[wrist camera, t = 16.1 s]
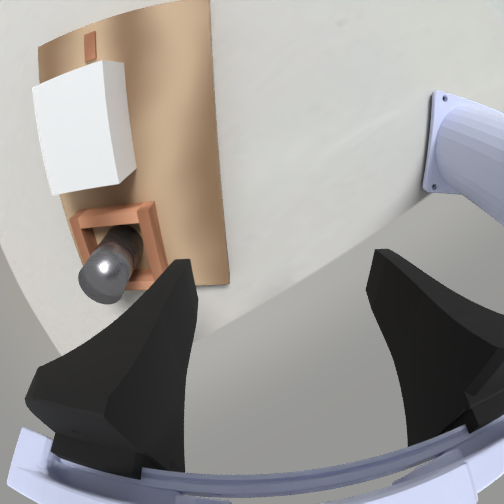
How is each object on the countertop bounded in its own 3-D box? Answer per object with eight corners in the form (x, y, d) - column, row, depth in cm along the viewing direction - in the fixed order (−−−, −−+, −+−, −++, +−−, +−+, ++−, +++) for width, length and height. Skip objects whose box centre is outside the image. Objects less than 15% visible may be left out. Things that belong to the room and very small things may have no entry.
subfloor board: (210, 1, 12) (205, -11, 10) (229, 276, 23) (228, 297, 21) (45, 47, 12) (25, 47, 10) (95, 280, 23) (85, 298, 20)
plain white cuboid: (124, 62, 13) (102, 60, 10) (136, 168, 17) (119, 183, 14) (58, 83, 13) (32, 87, 10) (74, 179, 17) (52, 195, 14)
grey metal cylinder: (144, 261, 20) (125, 307, 16) (108, 257, 20) (83, 300, 16) (142, 226, 19) (118, 267, 15) (104, 222, 19) (74, 261, 14)
